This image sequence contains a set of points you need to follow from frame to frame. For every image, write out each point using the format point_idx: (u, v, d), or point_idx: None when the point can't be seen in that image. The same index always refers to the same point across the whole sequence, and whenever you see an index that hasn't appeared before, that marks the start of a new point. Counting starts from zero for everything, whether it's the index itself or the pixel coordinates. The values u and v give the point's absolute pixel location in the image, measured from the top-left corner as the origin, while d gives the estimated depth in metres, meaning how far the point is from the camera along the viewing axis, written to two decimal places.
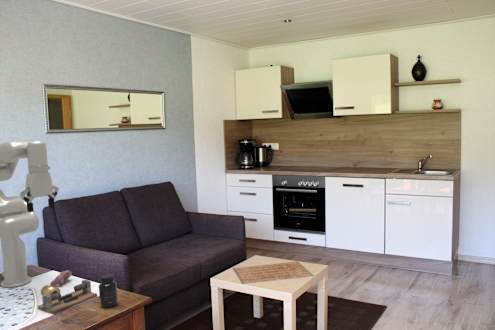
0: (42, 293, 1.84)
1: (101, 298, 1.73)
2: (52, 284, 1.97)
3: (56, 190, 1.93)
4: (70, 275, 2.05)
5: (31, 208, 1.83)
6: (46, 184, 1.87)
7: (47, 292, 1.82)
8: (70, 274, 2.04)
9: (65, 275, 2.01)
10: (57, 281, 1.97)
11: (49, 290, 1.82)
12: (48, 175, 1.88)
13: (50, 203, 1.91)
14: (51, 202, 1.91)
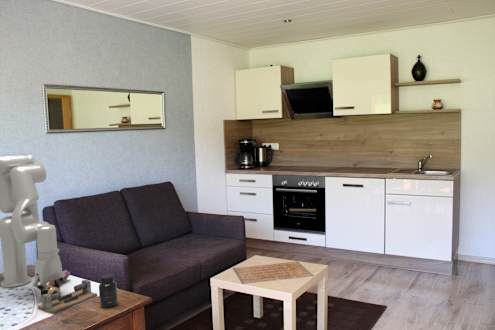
0: None
1: (101, 298, 1.73)
2: (51, 284, 1.97)
3: (62, 276, 1.89)
4: (68, 275, 2.05)
5: None
6: (56, 268, 1.84)
7: (47, 292, 1.82)
8: (68, 274, 2.04)
9: None
10: None
11: (49, 290, 1.82)
12: (58, 259, 1.85)
13: None
14: None
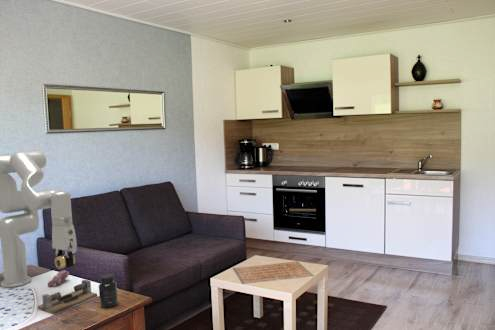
0: None
1: (101, 298, 1.73)
2: (49, 284, 1.97)
3: (72, 250, 1.74)
4: (67, 275, 2.05)
5: None
6: (60, 238, 1.74)
7: None
8: (67, 274, 2.04)
9: (62, 275, 2.01)
10: (55, 281, 1.97)
11: None
12: (62, 229, 1.73)
13: None
14: None
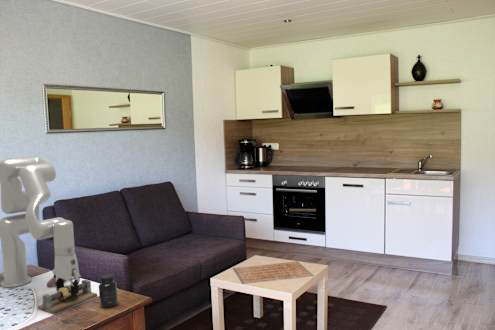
0: None
1: (101, 298, 1.73)
2: (48, 284, 1.97)
3: (76, 278, 1.74)
4: None
5: None
6: (63, 268, 1.75)
7: None
8: None
9: None
10: (53, 281, 1.97)
11: None
12: (65, 259, 1.74)
13: None
14: None
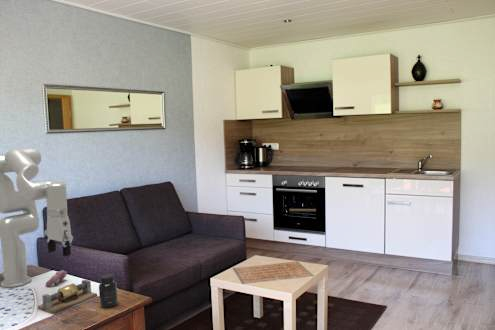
0: None
1: (101, 298, 1.73)
2: (48, 284, 1.97)
3: (68, 239, 1.75)
4: (65, 275, 2.05)
5: None
6: (55, 229, 1.76)
7: None
8: (65, 274, 2.04)
9: (60, 275, 2.01)
10: (53, 281, 1.97)
11: None
12: (57, 221, 1.75)
13: None
14: None
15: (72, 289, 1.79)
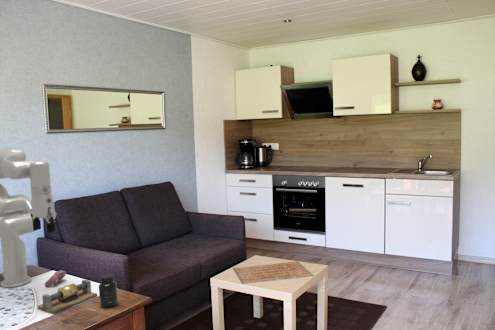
0: None
1: (101, 298, 1.73)
2: (47, 284, 1.97)
3: (52, 215, 1.80)
4: (64, 275, 2.05)
5: None
6: (39, 206, 1.81)
7: None
8: (64, 274, 2.04)
9: (60, 275, 2.01)
10: (52, 281, 1.97)
11: None
12: (40, 198, 1.80)
13: None
14: None
15: (72, 289, 1.79)
